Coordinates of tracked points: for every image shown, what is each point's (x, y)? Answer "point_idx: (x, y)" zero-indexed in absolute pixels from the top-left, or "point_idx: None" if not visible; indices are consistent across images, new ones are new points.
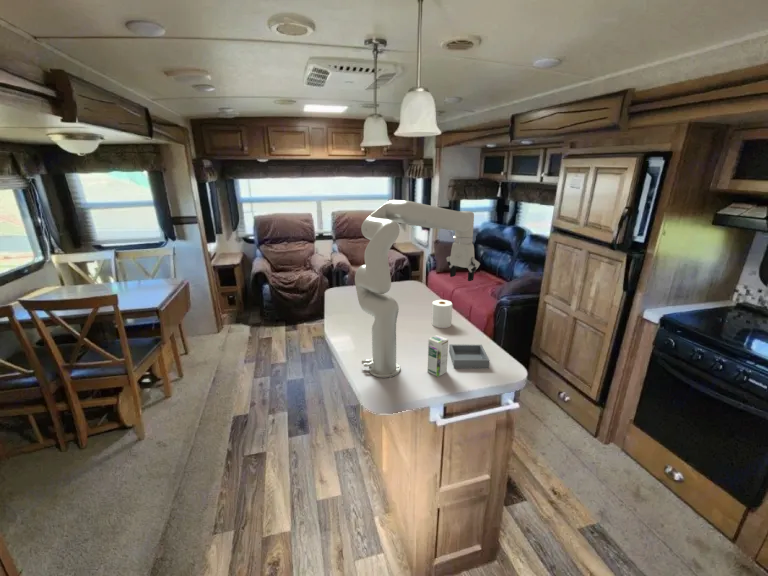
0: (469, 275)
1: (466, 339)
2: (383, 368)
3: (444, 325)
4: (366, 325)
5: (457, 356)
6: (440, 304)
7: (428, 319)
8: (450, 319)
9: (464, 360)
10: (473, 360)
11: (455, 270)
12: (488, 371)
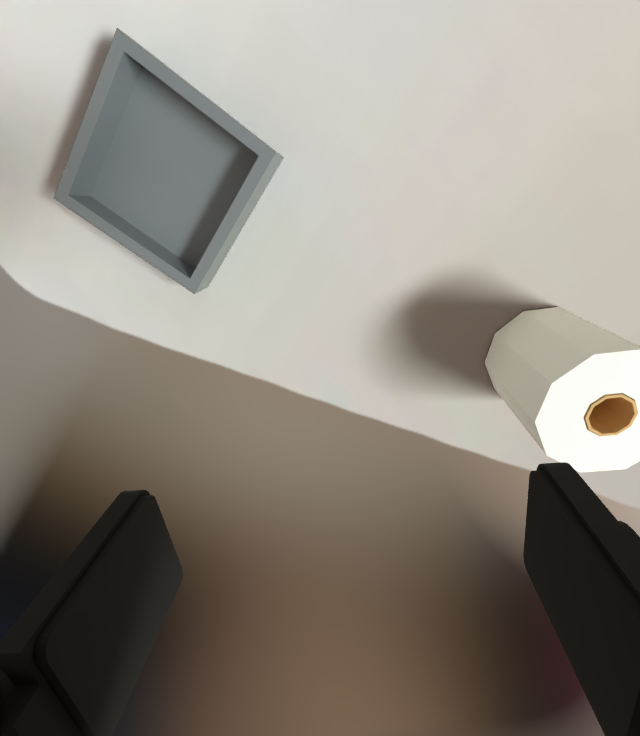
0: (57, 584)
1: (334, 327)
2: None
3: (498, 339)
4: None
5: (213, 146)
6: (601, 386)
7: None
8: (501, 389)
9: (97, 84)
10: (80, 128)
11: (580, 668)
12: None
